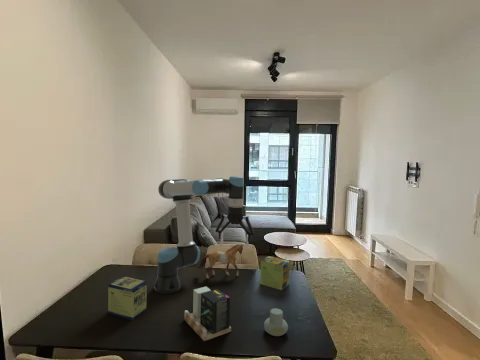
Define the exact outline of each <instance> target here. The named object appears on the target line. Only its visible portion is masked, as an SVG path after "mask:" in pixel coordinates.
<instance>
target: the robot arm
mask: <svg viewBox="0 0 480 360" xmlns="http://www.w3.org/2000/svg"><path fill="white" fill-rule="evenodd" d="M244 187H245V180H244V177H243V176H238V175H237V176H236V175H234V176H233V175H232V176H231V175H230V176H229V178H228V179H226V178H222V177H221V178H218V177H217V178H213V179H211V178H210V179H197V180H191V179H187V178H181V179H180V178H179V179H178V178H177V179H166V180H164V181H161V183H160V184H159V185H158V189H157V190H158V194H159V195H160V196H161V197H162V198H164V199H167V200H169V199H170V200H171V199H172V202H173V203H174V204H175V211H176V212H175V213H176V223H177V236H178V243H177V244H176V247H173V246H171V247H165V248H162V249H160V250H159V252H158V253H157V259H156V260H157V277H156V280H155V281H154V289H153V290H154V292H156V293H158V294H162V295H168V294H173V293H176V292H178V291H180V289H181V281H180V278H179V275H178V273H179V272H178V271H179V269H182V268H186V267H189V266H191V267H192V266H193V265H195V264H198V262H199V261H200V258H201V250H200V247H199V246H198V245H197V244H196V242H195V241H194V240H193V238H194V237H193V227H192V219H191V218H192V217H191V214H192V213H191V206H190V205H191V204H190V202H191V201H192V197H194V195H195V196H196V195H197V196H205V195H214V194H227V195H228V207H227V208H228V209H227V211H228V212H227V215H226V214H222V215H221V219H220V220H219V223H218V224H217V227H216V229H215V232H216V233H218V240H220V243H219V244H220V247H223V245H224V232H223V231H224V230H225V229H226V228H227V227H228V226H229V225H230V224H231V225H236V226H237V225H239V226H240V227H241V228H242V229H243V230H244V232H245V233H246V240H245V242H246V245H245V248H246V249H249V243H250V242H251V240H252V236H254V235H255V230H254V228H253V226H252V224H251V222H250V218H249V217H250V216H249V215H246V216H245V215H244V209H243V206H244ZM226 219H227V220H228V221H227V222H226V223H225V224H224V226H223V227H222V225H223V223H224V221H225V220H226ZM243 220H244V221H245V223H246V225H247V226H246V225H245V223H244V221H243ZM221 227H222V228H221ZM247 227H248V228H247Z"/></svg>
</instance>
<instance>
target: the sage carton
mask: <svg viewBox="0 0 480 360" xmlns="http://www.w3.org/2000/svg"><path fill="white" fill-rule="evenodd" d="M209 291H212V290H211V289H210V288H209V287H208V286H203V287H198V288H194V289H193V294H192V295H193V296H192V297H193V300H192V306H193V307H192V310H193V311H192V313H193V314H194V315H195V316H196V317H197V318H199V317H201V294H202V293H206V292H209Z"/></svg>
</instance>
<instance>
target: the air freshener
mask: <svg viewBox="0 0 480 360" xmlns="http://www.w3.org/2000/svg"><path fill="white" fill-rule="evenodd" d="M283 317H284V312H283V310H282V309H280V308H276V307H275V308H271V309H270V310H269V317H267V318H266V319H265V321H264V322H263V327H264V330H265V332H266V333H267V334H268V335H271V336H273V337H280V336H283V335H285V334H286V333H287V331H288V329H289V325H288V323H287V321H286V320H285V319H284V318H283Z"/></svg>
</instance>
